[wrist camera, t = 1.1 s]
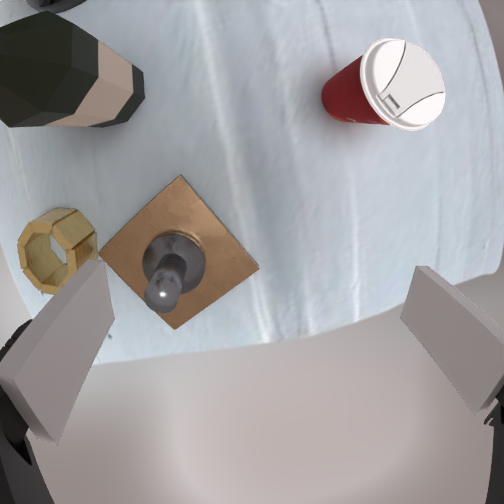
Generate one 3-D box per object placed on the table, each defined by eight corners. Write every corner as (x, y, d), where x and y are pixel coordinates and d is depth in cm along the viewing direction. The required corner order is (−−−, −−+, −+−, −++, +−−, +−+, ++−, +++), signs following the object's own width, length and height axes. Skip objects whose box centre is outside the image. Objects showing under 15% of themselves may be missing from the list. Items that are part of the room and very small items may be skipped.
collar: (33, 238, 31) (9, 254, 26) (65, 194, 30) (39, 205, 24) (73, 284, 34) (53, 307, 29) (109, 246, 33) (90, 266, 27)
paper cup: (345, 144, 31) (416, 152, 18) (298, 96, 28) (346, 69, 15) (385, 102, 29) (463, 93, 16) (341, 55, 27) (405, 17, 14)
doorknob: (100, 250, 33) (66, 285, 24) (181, 174, 31) (162, 188, 22) (175, 325, 38) (164, 374, 29) (258, 265, 35) (268, 307, 27)
